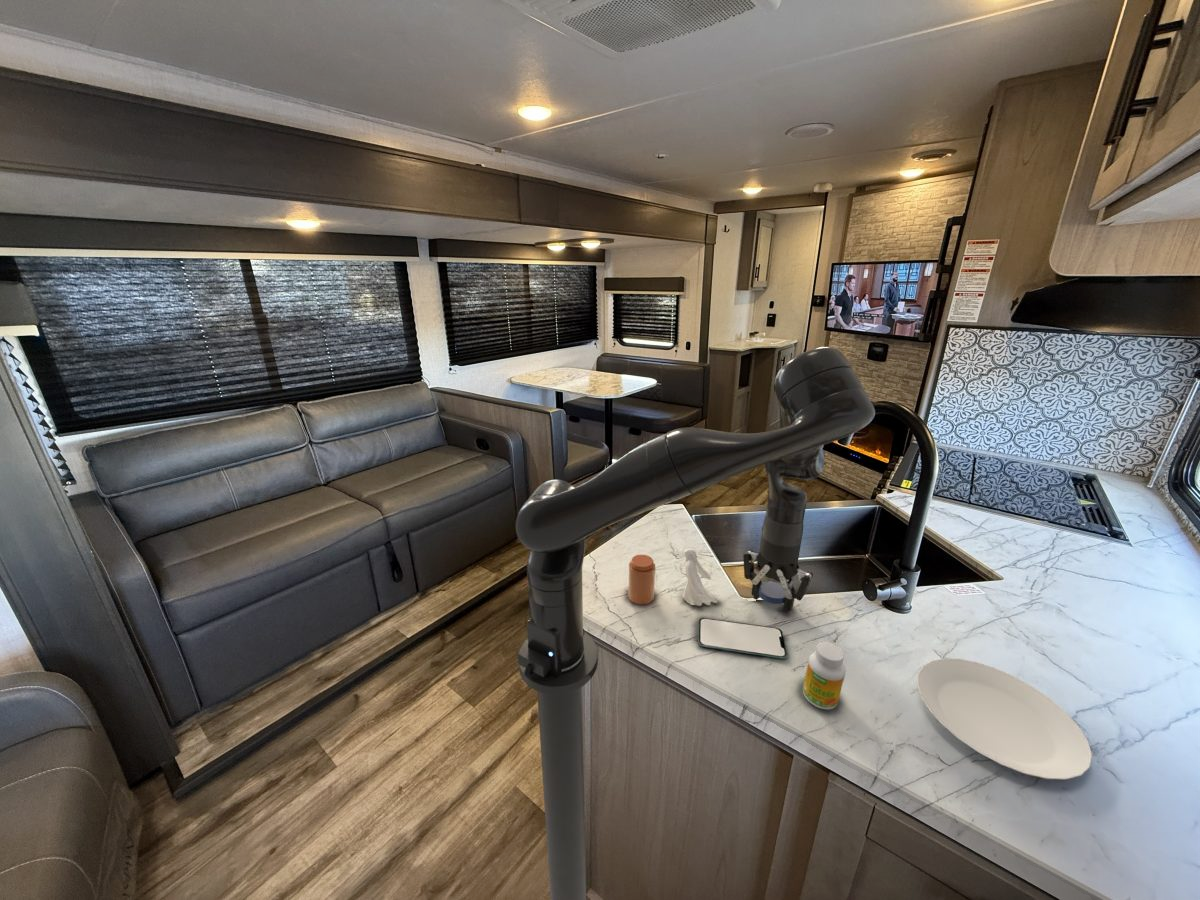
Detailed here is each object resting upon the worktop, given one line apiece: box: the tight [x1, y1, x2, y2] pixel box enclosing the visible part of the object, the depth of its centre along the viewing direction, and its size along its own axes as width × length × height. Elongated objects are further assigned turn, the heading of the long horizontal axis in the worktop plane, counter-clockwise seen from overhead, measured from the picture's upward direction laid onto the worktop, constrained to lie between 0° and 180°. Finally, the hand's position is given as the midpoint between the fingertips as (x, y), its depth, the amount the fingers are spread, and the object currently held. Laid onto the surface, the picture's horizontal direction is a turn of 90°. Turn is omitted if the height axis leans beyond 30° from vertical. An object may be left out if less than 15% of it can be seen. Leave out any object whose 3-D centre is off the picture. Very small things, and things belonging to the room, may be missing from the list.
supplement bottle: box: [802, 641, 847, 710], centre depth 75 cm, size 5×5×10 cm
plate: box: [916, 658, 1093, 781], centre depth 72 cm, size 21×21×2 cm
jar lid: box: [758, 580, 786, 605], centre depth 97 cm, size 6×6×2 cm
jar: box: [627, 554, 656, 605], centre depth 99 cm, size 6×6×9 cm
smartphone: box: [697, 617, 788, 660], centre depth 88 cm, size 8×1×16 cm
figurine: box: [682, 547, 718, 607], centre depth 97 cm, size 8×8×12 cm
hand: (771, 603), depth 98 cm, fingers closed on jar lid, 5 cm apart
